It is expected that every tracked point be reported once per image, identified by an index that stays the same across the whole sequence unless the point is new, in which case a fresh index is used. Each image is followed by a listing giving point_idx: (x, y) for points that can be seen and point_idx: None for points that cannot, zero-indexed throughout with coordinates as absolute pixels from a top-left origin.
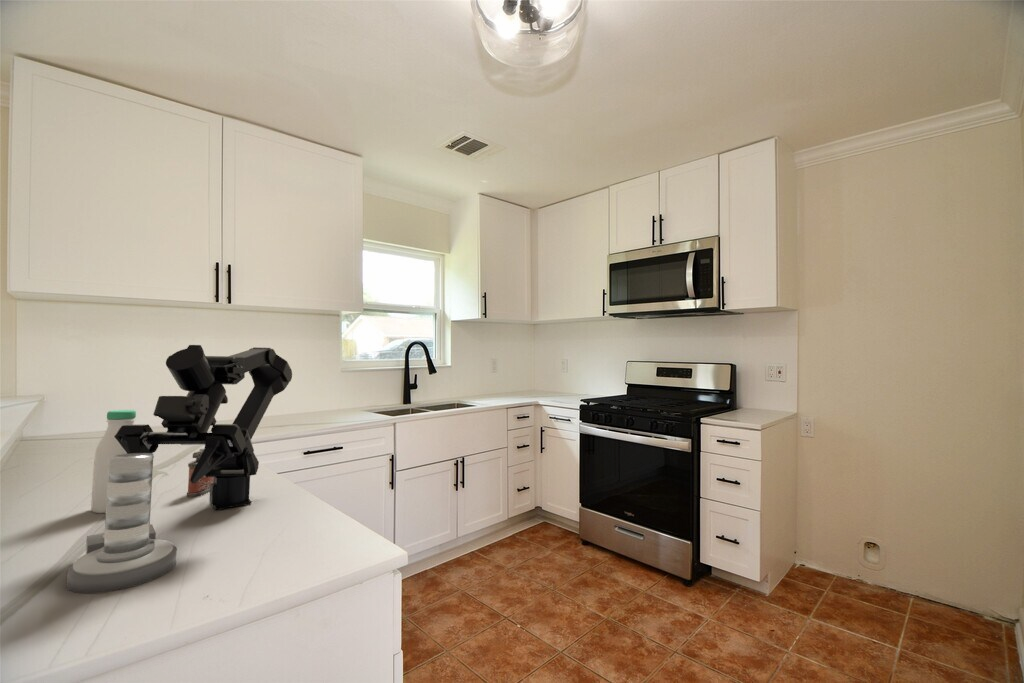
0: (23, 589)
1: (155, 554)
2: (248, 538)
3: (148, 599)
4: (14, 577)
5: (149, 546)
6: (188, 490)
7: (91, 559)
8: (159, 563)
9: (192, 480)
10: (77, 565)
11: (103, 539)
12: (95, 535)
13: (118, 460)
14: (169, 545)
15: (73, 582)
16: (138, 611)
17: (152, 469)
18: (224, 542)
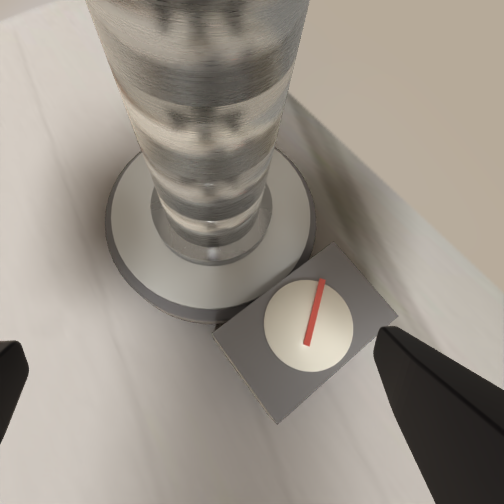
0: (354, 176)
1: (135, 198)
2: None
3: (96, 114)
4: (423, 227)
5: (152, 198)
6: None
7: (271, 184)
8: (116, 183)
9: (3, 342)
10: (276, 157)
11: (327, 282)
12: (378, 320)
13: None
14: (129, 255)
15: None
16: (92, 80)
17: (88, 7)
18: (40, 414)
